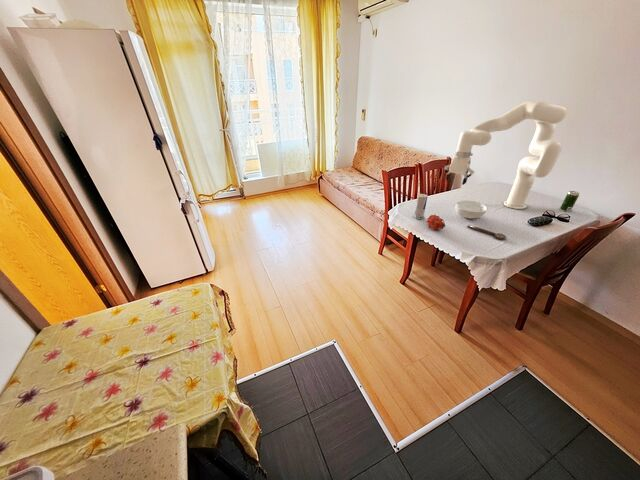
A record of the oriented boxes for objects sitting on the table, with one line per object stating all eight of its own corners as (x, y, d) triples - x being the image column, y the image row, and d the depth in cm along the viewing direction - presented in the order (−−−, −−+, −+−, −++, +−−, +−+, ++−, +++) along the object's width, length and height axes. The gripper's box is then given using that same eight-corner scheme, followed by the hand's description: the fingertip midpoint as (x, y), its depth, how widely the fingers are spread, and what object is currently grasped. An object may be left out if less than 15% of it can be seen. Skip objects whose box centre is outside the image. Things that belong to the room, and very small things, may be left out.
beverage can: (424, 219, 158) (428, 197, 150) (414, 219, 159) (418, 196, 151) (422, 215, 163) (426, 193, 155) (413, 215, 164) (417, 193, 156)
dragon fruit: (425, 225, 155) (441, 236, 147) (420, 221, 149) (436, 232, 141) (435, 214, 152) (451, 224, 144) (429, 209, 146) (446, 220, 138)
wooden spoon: (465, 228, 146) (466, 225, 145) (469, 225, 149) (470, 222, 148) (503, 241, 133) (504, 238, 133) (506, 237, 136) (507, 234, 135)
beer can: (572, 211, 157) (582, 193, 150) (564, 212, 157) (573, 194, 150) (565, 208, 161) (574, 190, 155) (557, 208, 161) (566, 191, 155)
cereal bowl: (449, 216, 159) (452, 206, 155) (458, 208, 169) (461, 198, 165) (479, 224, 149) (482, 214, 145) (486, 214, 159) (490, 204, 155)
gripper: (481, 155, 144) (472, 184, 153) (450, 150, 155) (444, 178, 164) (475, 157, 140) (467, 187, 149) (445, 153, 151) (439, 180, 160)
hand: (455, 182), depth 156 cm, fingers open, 9 cm apart
